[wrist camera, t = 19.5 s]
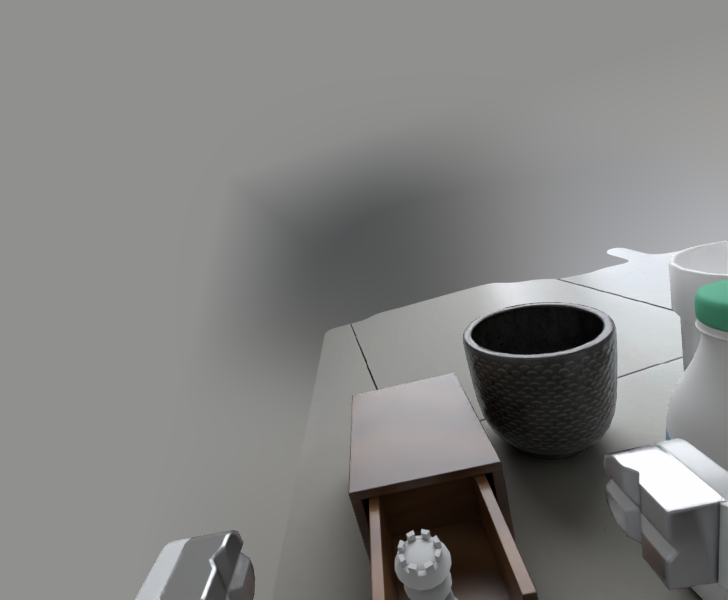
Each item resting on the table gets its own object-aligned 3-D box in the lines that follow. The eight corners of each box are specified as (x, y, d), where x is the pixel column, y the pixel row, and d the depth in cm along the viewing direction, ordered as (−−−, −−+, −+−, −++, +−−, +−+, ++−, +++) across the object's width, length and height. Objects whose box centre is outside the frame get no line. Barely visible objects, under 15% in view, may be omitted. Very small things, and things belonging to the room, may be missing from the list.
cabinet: (516, 550, 31) (501, 461, 28) (374, 578, 31) (348, 493, 29) (467, 438, 45) (454, 372, 42) (370, 458, 45) (352, 395, 43)
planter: (559, 508, 33) (542, 375, 30) (456, 434, 46) (435, 335, 42) (656, 435, 38) (650, 314, 35) (539, 386, 51) (527, 294, 47)
